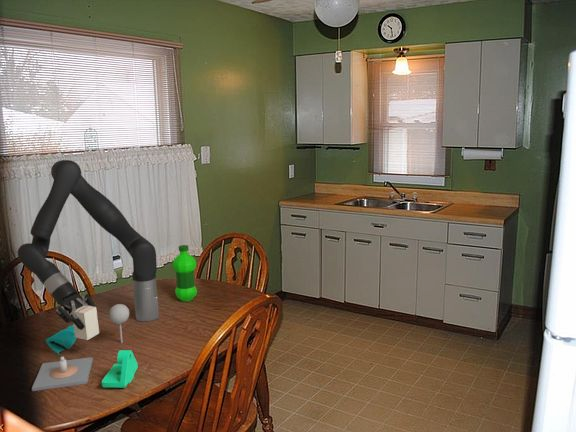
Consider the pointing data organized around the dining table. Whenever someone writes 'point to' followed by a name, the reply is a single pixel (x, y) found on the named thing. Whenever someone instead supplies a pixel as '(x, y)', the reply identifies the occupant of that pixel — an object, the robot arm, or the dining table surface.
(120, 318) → the lollipop
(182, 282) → the plastic bottle
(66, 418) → the dining table surface
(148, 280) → the robot arm
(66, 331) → the cloth
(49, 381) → the base
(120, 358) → the camera mount
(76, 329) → the striped cream block
